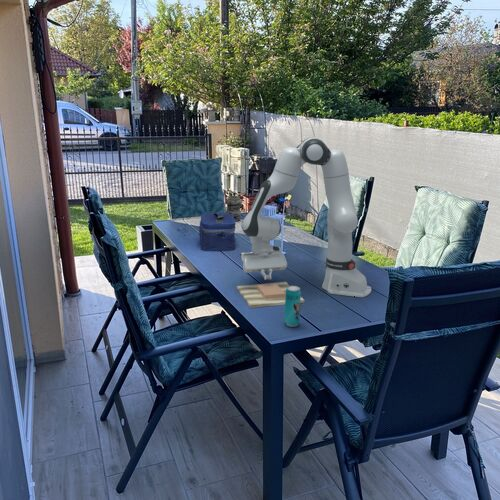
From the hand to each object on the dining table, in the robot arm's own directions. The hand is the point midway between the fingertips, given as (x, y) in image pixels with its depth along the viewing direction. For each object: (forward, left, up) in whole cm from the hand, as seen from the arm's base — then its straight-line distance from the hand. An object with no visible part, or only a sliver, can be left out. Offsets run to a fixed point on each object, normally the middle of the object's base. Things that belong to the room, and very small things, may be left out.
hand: (268, 279), depth 218 cm
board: (-2, +2, -7) cm, 7 cm away
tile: (+2, -2, -4) cm, 5 cm away
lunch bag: (+64, -56, -7) cm, 86 cm away
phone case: (+34, -43, -7) cm, 55 cm away
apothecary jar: (+93, -121, -7) cm, 152 cm away
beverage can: (-23, +24, -7) cm, 35 cm away
